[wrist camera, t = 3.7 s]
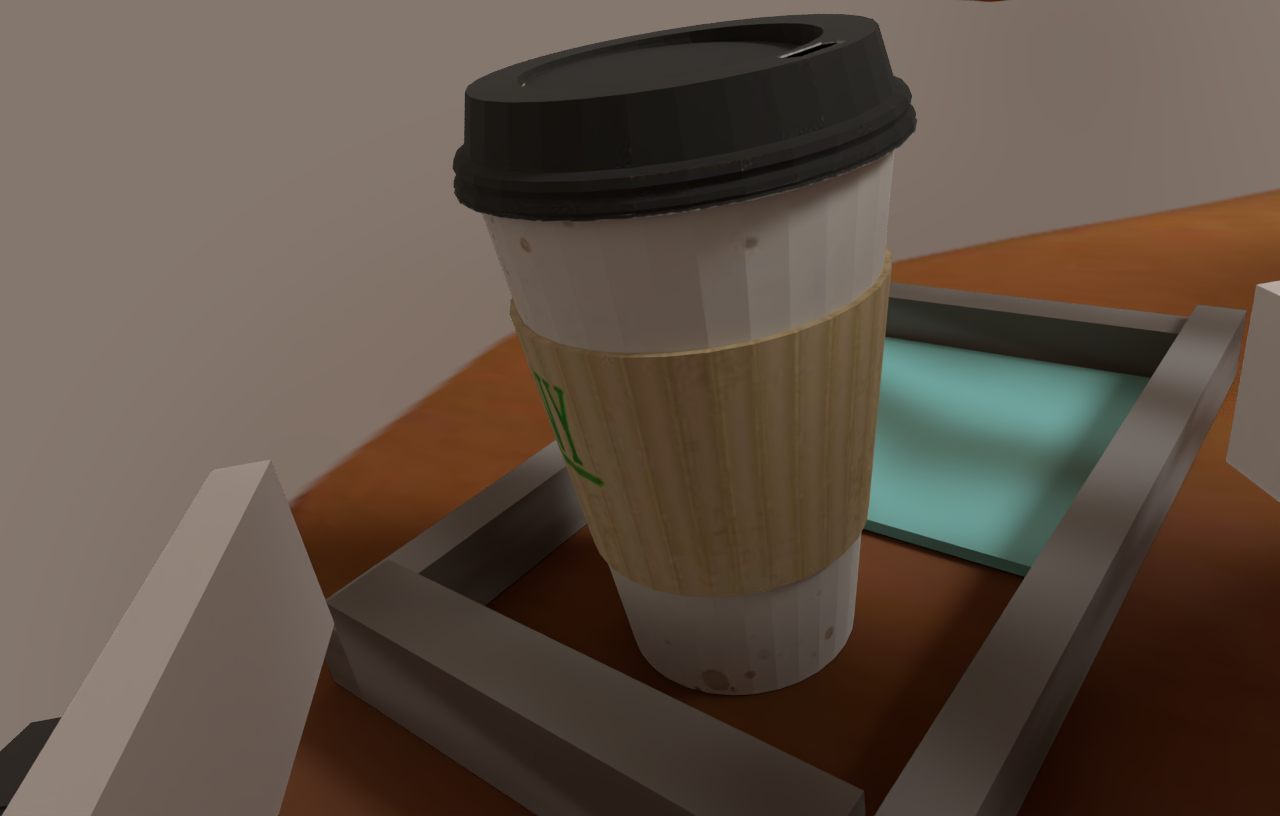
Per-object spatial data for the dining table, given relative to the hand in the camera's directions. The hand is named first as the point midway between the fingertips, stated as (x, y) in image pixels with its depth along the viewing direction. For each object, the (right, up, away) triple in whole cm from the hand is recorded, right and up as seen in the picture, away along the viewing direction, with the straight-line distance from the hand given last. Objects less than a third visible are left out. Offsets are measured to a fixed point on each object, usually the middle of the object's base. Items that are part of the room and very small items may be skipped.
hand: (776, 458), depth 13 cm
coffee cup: (+1, -5, +14) cm, 15 cm away
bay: (+4, -3, +17) cm, 18 cm away
